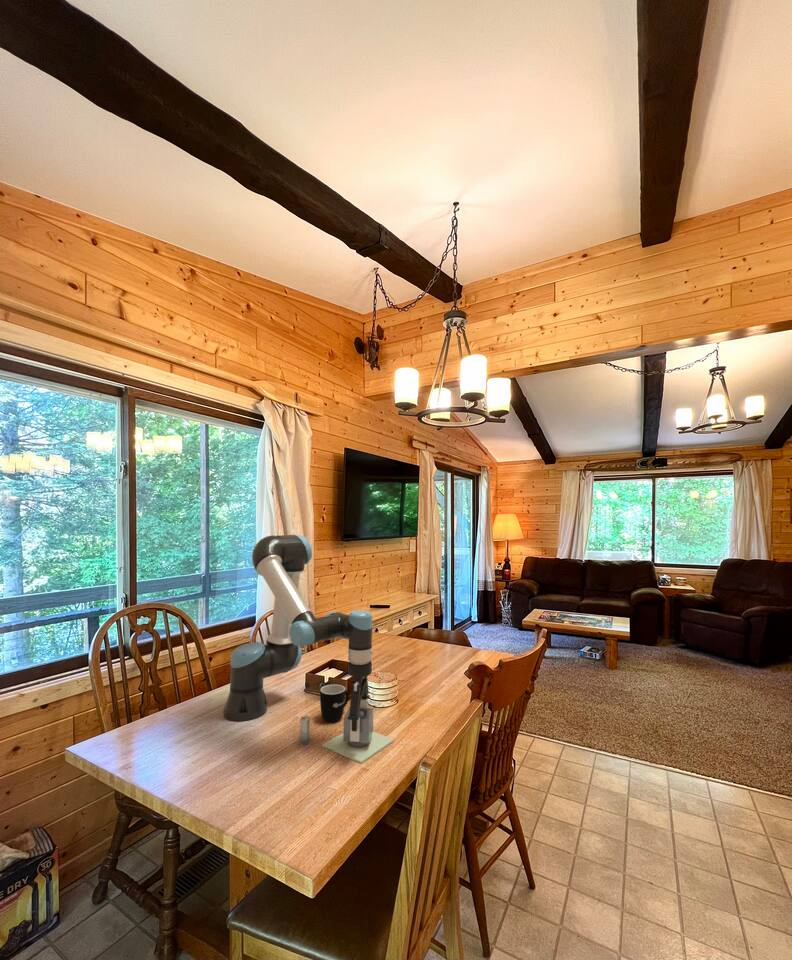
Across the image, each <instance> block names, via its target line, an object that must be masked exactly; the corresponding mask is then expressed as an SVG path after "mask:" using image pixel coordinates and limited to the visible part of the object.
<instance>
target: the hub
mask: <svg viewBox="0 0 792 960" xmlns="http://www.w3.org/2000/svg"><path fill="white" fill-rule="evenodd" d="M359 716H362V717H364V712H363V711H360V712H359ZM343 734H344V732H342V733H340V734H338V735H337V736H335V737H333V738H332V739H330V740H327V741H326V742H324V743H323V744H322V747H323V748H324V749H328V750H329V751H331V752H334V753H336V754H338V755H341V756H342V757H345V758H348V759H349V760H352V761H354V762H355V763H358V764H360V765H362V764H363V763H366V761H368V760H369V759H371V758H372V757H374V756H375V755H376V754H378V753H379V752H381V751H382V750H384V749H386V747H389V746H390V745H391V744H392V743H394V742H395V739H394V738H391V737H389V736H387V735H383V734H381V733H378V732H375V731H373V732H372V735H371V738H370V741H369V743H358V742H343Z"/></svg>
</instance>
